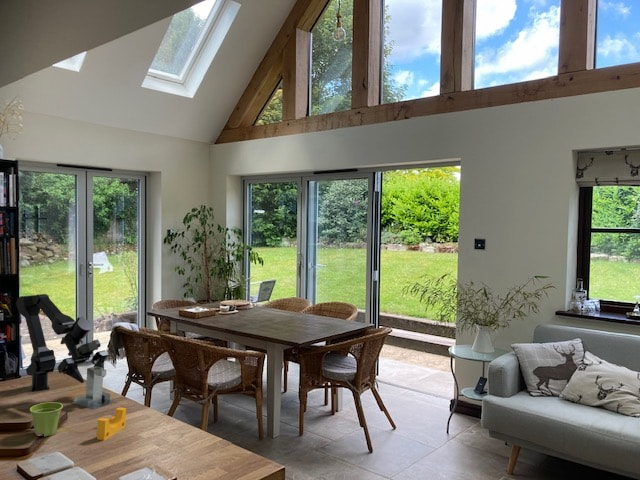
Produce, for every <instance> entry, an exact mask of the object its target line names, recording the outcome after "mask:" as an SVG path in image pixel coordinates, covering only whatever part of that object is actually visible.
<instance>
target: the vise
mask: <svg viewBox="0 0 640 480" xmlns="http://www.w3.org/2000/svg"><path fill="white" fill-rule="evenodd" d="M93 400H94V399H91V398H88V397H86V396H84V395H82V396H79V397H77V398H74V399H73V401H72V402H71V404H74V405H77V406H80V407H83V408H86V409H90V410H91V411H92V410H96V409H98V408H103V407H105V406H108V405H112V404H114V403H116V401H115V400H114V401H113V400H111V394H110V393H108V392H104V391H102V402H100V403H97V404H94V405H93Z"/></svg>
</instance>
